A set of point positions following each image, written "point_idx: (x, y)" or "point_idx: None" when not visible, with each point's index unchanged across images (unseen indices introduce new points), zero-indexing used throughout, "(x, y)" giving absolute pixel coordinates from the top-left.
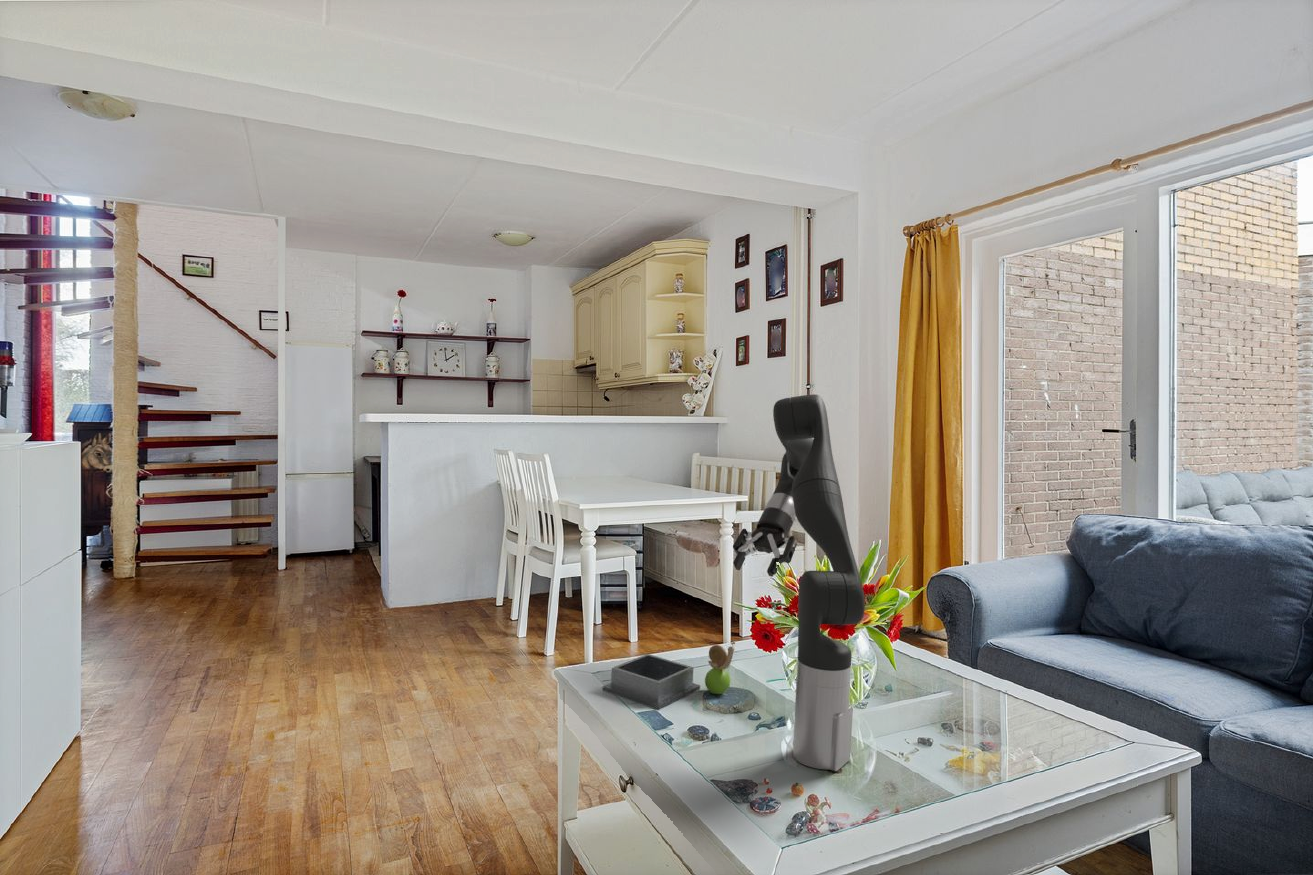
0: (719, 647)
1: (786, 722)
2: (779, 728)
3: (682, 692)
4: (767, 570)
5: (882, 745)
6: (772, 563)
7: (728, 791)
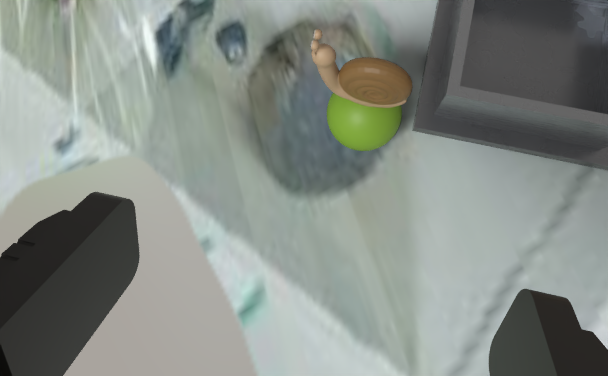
0: (370, 57)
1: (156, 47)
2: (165, 10)
3: (434, 58)
4: (123, 200)
5: None
6: (32, 254)
7: None
